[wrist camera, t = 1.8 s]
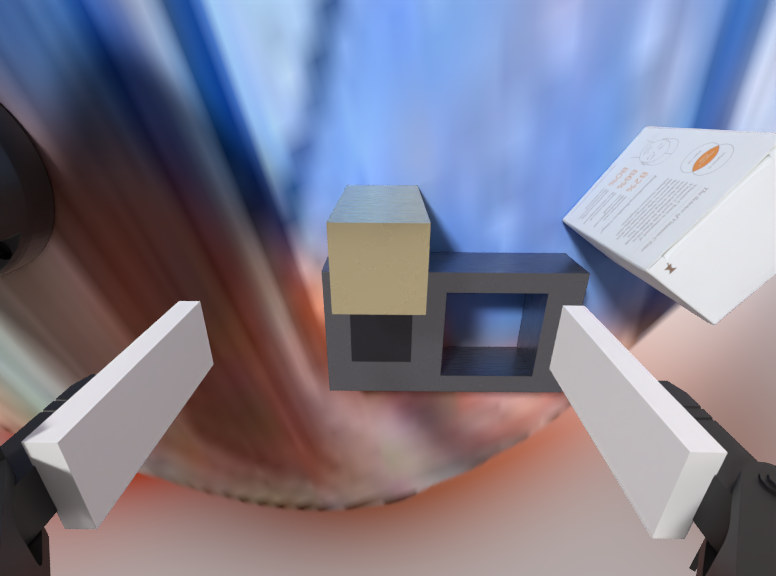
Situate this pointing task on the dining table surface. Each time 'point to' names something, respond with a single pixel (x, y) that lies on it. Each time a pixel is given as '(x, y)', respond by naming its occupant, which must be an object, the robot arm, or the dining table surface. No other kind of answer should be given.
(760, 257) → the small box
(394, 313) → the beige square peg
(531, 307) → the grey square hole block
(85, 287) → the dining table surface
